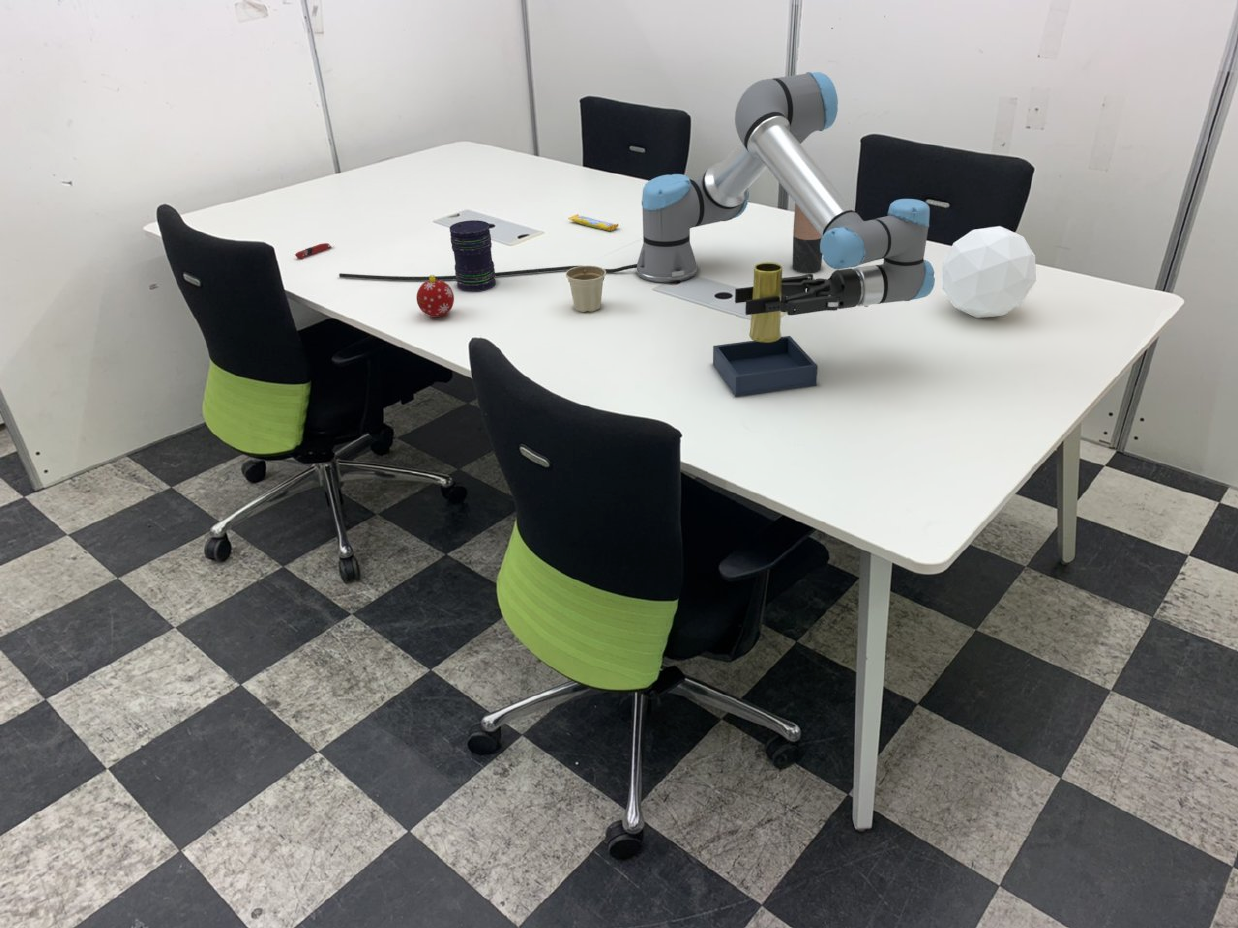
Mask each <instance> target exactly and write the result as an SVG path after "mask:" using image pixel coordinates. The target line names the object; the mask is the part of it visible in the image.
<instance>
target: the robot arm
mask: <svg viewBox="0 0 1238 928" xmlns="http://www.w3.org/2000/svg"><path fill="white" fill-rule="evenodd" d="M838 106H839V99H838V94H837V90H836V86H835V84H834V82H833V81H832V79H831V78H830V77H829V76H828V75H827V74H825V73H824V72H821V71H820V72H819V71H818V72H817V71H816V72H812V71H807V72H806V73H801V74H794V75H788V76H787V75H786V76H781V77H780V76H779V77H773V78H765V79H761V80H758V81H756V82H754V83H753V84H751V85H750V86H749V87H747V88H746V89H745V91H744V92H743V93H742V94H741V96H740V98H739V100H738V102H737V105H736V108H735V111H734V112H735V115H734V120H735V121H734V124H735V125H734V126H735V131H736V132H737V135H738V139H739V140H740V141H739V142H738V144H737V145H736V146H735V147H734V148H733V149H732V151H731V152H730V153H729V154H728V155H727V156H726V157H725V158H724V159H723V161H719V162H715V163H713V164H712V165H710V166H709V167H708V169H707V170H705V172H704V173H703V174H702V175H701V176H697V177H691V178H689V176H688V175H685V174H682V173H673V174H663V175H659V176H656V177H654V178H652V179H650V180H649V181H647V182H646V183H645V185H644V186H643V188H642V197H641V207H642V209H641V210H642V238H643V239H642V241H643V242H642V243H643V244H642V246H641V250H640V253H639V256H638V260H637V263H633V264H628V265H623V266H620V267H617V268H604V269H605V271H606V274H610V273H613V274H614V273H619V272H622V271H627V270H632V269H636V274H637V276H638V278H641V279H643V280H645V281H648V282H653V283H665V284H667V283H677V282H682V281H687V280H689V279H691V278H693V277H695V276H696V275H697V272H698V264H697V260H696V256H695V254H694V251H693V247H692V244H691V229H692V228H698V227H702V226H705V225H710V224H716V223H720V222H728V221H731V220H733V219H735V218H738V217H740V216H741V215H742V214H743V213H744V212H745V211H746V209H747V207H748V200H749V197H750V190H749V187H751V185H752V184H753V183H754V182H755V181H757V179H759V177H760V176H762V174H763V173H764V172H765V171H766V170H767V169H768V170H769V171H770V173H771V174H772V175H773V177H774V178H775V179H776V180H777V182H778V183H779V184H780V185H781V187H782V188H783V189H784V190H785V191H786V193H787V194H788V196H789V197H790V199H792V201H793V202H794V204H795V203H796V204H797V205H798V207H799V208H800V209H801V210H802V212H803V213H804V214H805V215H806V217H807V218H808V219H809V221H810V222H811V223H812V224H813V226H814V227H815V228H816V229H817V231H818V232H819V233H820V234H821V236H822V239H821V243H820V251H821V253H822V254H823V255H822V261H823V262H824V263H825V264H826V265H827V266H828V267H829V268H831V269H834V271H832V273H831V274H830V276H829V278H822V277H821V278H820V277H819V278H816V279H815V278H814V274H813V273H805V274H803V275H796V276H788V277H782V292H781V301H780V297H779V296H776V297H768V298H760V299H753V286H747V287H746V286H745V287H740V288H735V290H734V302H735V304H743V303H745V308H744V309H745V312H744V313H745V315H746V316H751V315H752V314H760V313H768V312H775V311H779V310H781V313H786V315H787V316H798V315H804V314H810V313H818V312H825V311H827V312H828V311H831V312H832V311H834V312H835V311H838V310H842V309H843V310H845V309H850V308H856V307H864V308H868V307H869V306H872V305H873V306H874V305H880V304H888V303H898V302H910V301H915V300H919V299H923V298H926V297H928V296H929V295H930V294H931V293H932V291H933V290H934V287H935V282H936V278H935V269H934V267H933V265H932V263H931V262H930V261H928V260H926V259H925V252H926V245H927V239H928V232H929V227H930V217H931V214H930V210H931V209H930V206H929V204H928V203H927V202H925V201H922V200H920V199H914V198H901V199H896V200H893V202H891V203H890V204H889V207H888V211H887V216H883V217H882V216H881V217H878V218H874V219H870V220H863V218H862V217H861V215H859V213H857V212H856V210H855V209H854V208H853V207H852V206H851V204H850V203H849V202H848V201H847V200H846V198H845V196H843V195H842V193H841V192H840V191H839V190H838V188H837V187H836V186H835V185H834V183H833V182H832V181H831V180H830V179H829V177H828V176H827V175H826V174H825V172H824V171H823V170H822V168H821V167H820V166H819V165H818V164H817V163H816V161H815V160H814V159H813V157H811V155H810V154H809V153H808V151H807V150H806V149H805V148H804V146H802V143H803V142H805V140H806V139H807V138H808V137H810V135H811V134H813V133H815V132H818V131H819V132H824V131H825V130H827V129H830V128H831V127H832V126H833V125H834V123H835V121H836V119H837V115H838V110H839V108H838ZM879 260H883V263H882V264H873V265H865V266H861V265H864V264H867V263H871V262H875V261H879ZM578 266H579V265H566V266H565V265H564V266H554V267H543V268H533V269H532V268H531V269H520V270H510V271H509V270H508V271H497V272H495V277H504V276H514V275H515V276H516V275H524V274H537V273H549V272H550V273H551V272H561V271H568V270H569V269H571V268H574V267H578ZM338 276H339V278H348V279H349V278H351V279H362V280H363V279H364V280H385V281H429V278H430V277H429V276H430V275H429V276H406V275H405V276H404V275H403V276H401V275H399V276H397V275H373V274H358V273H357V274H355V273H339V274H338ZM434 276H435V275H434ZM434 276H431V277H434ZM435 279H436V280H440V281H446V280H450V281H451V280H457V278H456V275H438V276H437V275H436V276H435Z"/></svg>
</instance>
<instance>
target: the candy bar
mask: <svg viewBox="0 0 1238 928" xmlns="http://www.w3.org/2000/svg"><path fill="white" fill-rule="evenodd" d="M568 220H569V221H571V222H574V223H577V224H581V225H583V226H586V227H590V228H595V229H599V230H603V231H607V232H612V231H614V230H616V229H617V228H618V227H619V225H620V224H619V223H612V222H608V221H603V220H600V219H595V218H592V217H589V216H584V215H579V214H574V215H571V216H570V217H568Z"/></svg>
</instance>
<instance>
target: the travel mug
mask: <svg viewBox="0 0 1238 928" xmlns="http://www.w3.org/2000/svg"><path fill="white" fill-rule="evenodd" d="M792 235H793V236H792V269H793V270H794V271H795V272H797V273H801V274H813V273H817V272H819V271H821V269H822V266H823V265H822V264H823V254H822V253H821V251H820V243H821V239H822V236H821V234H820V233H819V232H818V231H817V229H816V228H815V227H814V226H813V224H812V223H811V222H810V221H809V219H808V218H807V217H806V215H805V214H804V213H803V212H802V210H801V209H800V208H799V207H798V205H797V204H796V203H795V202H794V216H793V231H792Z"/></svg>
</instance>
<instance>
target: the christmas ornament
mask: <svg viewBox="0 0 1238 928" xmlns="http://www.w3.org/2000/svg"><path fill="white" fill-rule="evenodd" d="M431 276H434V277H431ZM429 277H430V278H429V280H425V281H424V282H423V283H422V284H421V285H420V286H419V287H418V290H417V292H416V303H417V306H418V308H419V309H420V311H421V312H422V313H423V314H425V315H427V316H429V317H432V318H439V317H440V318H441V317H443V316H445V315H447V314H448V313H450V311H451V310H452V308H453V307H454V303H455V294H454V291H453V289H452V288H451V286H450V285H449V284H448V283H446V282H445V281H444V280H436V279H435V275H434V274H430V275H429Z"/></svg>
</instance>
